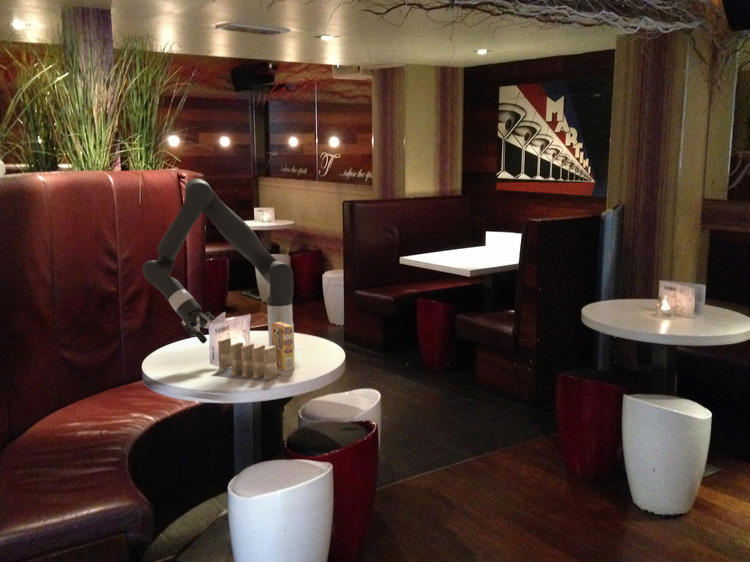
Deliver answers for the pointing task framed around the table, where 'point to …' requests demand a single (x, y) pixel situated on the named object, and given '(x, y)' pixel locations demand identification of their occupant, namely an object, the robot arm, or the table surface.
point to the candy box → (283, 344)
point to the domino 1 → (224, 352)
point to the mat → (228, 374)
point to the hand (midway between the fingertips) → (213, 339)
